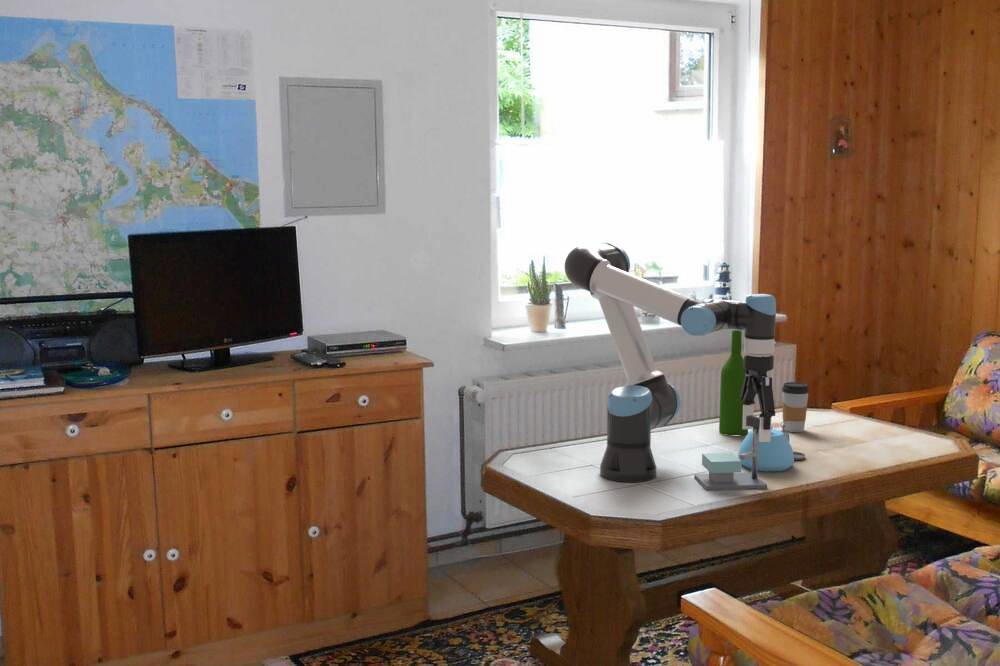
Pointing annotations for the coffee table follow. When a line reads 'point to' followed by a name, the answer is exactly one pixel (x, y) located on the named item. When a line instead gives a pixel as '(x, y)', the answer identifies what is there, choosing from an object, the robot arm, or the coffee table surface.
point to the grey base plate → (729, 481)
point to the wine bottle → (732, 390)
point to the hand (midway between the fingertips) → (756, 435)
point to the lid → (721, 462)
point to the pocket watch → (796, 454)
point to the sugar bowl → (769, 452)
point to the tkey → (753, 454)
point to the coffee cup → (794, 405)
